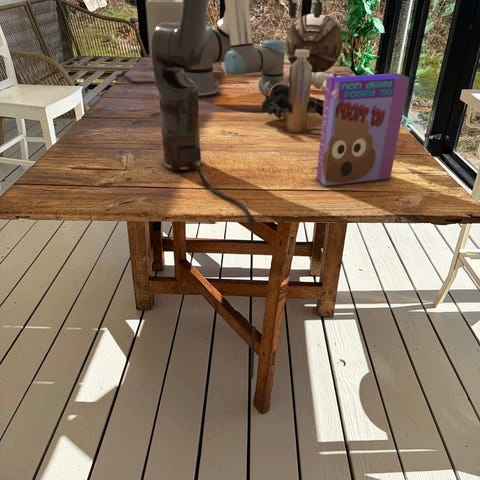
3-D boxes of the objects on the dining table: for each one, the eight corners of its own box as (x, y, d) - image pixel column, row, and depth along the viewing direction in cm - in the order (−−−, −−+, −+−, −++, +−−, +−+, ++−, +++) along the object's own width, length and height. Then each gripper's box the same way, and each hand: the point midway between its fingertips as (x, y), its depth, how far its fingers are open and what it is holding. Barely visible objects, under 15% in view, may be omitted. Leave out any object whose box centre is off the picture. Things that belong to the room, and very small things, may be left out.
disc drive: (278, 75, 213) (279, 63, 210) (229, 76, 208) (229, 64, 206) (267, 67, 228) (267, 55, 225) (221, 68, 223) (221, 57, 220)
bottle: (306, 127, 150) (313, 50, 138) (306, 133, 145) (313, 54, 133) (286, 126, 151) (291, 49, 139) (285, 132, 145) (290, 53, 134)
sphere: (341, 70, 223) (348, 11, 211) (336, 82, 203) (343, 17, 190) (288, 66, 229) (292, 9, 216) (278, 77, 208) (281, 14, 196)
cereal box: (324, 186, 112) (336, 81, 99) (316, 178, 116) (326, 76, 103) (390, 178, 116) (409, 77, 103) (379, 171, 120) (397, 72, 107)
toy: (311, 101, 176) (313, 82, 172) (274, 86, 194) (275, 69, 190) (361, 94, 186) (364, 75, 182) (322, 80, 204) (323, 63, 201)
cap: (309, 55, 138) (309, 49, 137) (309, 57, 135) (309, 51, 134) (294, 54, 139) (295, 48, 138) (294, 57, 135) (295, 51, 134)
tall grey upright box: (195, 63, 233) (193, -1, 218) (192, 69, 220) (189, 2, 206) (156, 62, 233) (152, -2, 219) (150, 68, 221) (145, 1, 206)
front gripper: (290, -54, 118) (286, 20, 126) (342, -53, 122) (334, 18, 130) (278, -54, 124) (275, 16, 132) (328, -53, 128) (322, 15, 136)
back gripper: (314, 104, 164) (339, 122, 147) (244, 107, 159) (261, 127, 142) (316, 81, 161) (342, 98, 143) (244, 84, 156) (262, 102, 138)
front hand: (304, 17), depth 131 cm, fingers open, 6 cm apart
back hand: (301, 112), depth 142 cm, fingers open, 13 cm apart
